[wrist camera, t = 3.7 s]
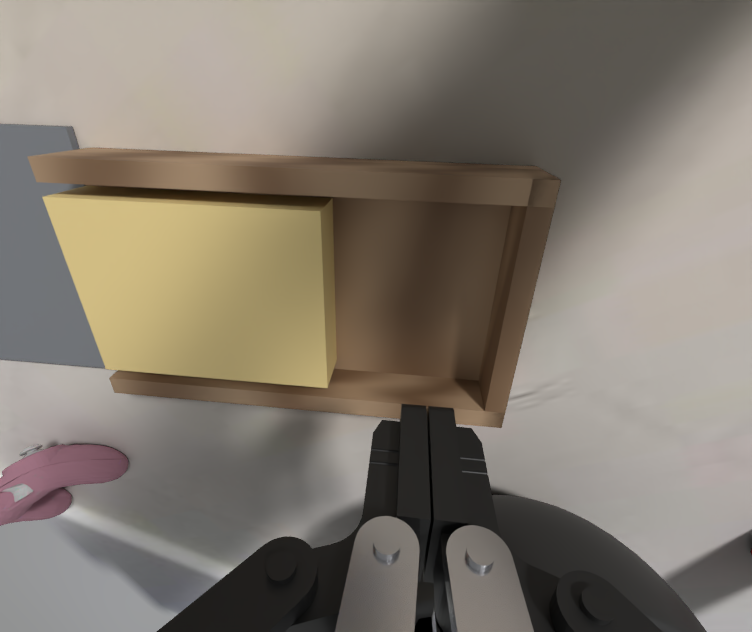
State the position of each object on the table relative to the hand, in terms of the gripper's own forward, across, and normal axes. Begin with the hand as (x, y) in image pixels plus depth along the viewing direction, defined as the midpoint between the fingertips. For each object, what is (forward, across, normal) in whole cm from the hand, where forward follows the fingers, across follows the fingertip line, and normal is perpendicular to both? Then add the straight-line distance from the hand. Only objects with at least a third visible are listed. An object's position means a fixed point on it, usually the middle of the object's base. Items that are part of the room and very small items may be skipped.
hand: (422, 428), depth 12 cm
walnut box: (+10, +6, 0) cm, 12 cm away
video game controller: (+11, +25, +17) cm, 33 cm away
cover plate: (+10, +10, 0) cm, 14 cm away
